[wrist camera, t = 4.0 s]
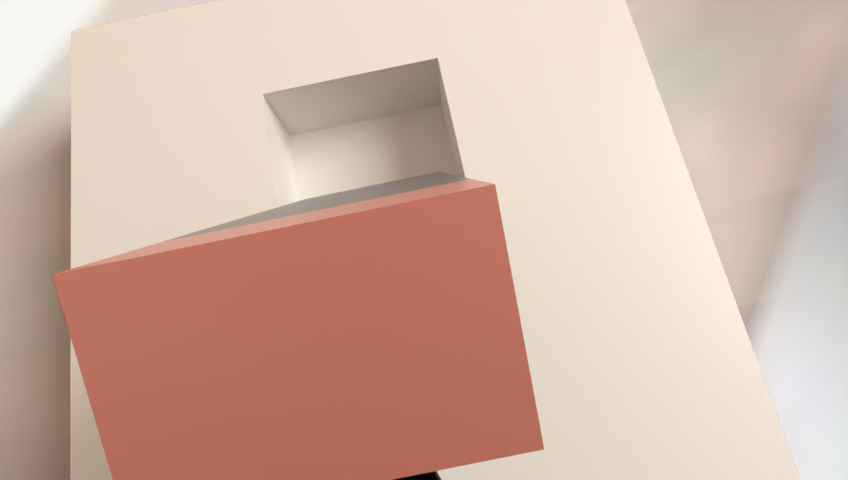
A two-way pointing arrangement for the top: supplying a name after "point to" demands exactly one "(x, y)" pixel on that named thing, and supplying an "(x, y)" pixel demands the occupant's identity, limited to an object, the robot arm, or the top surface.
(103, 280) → the lever
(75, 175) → the box
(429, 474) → the robot arm
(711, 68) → the top surface
